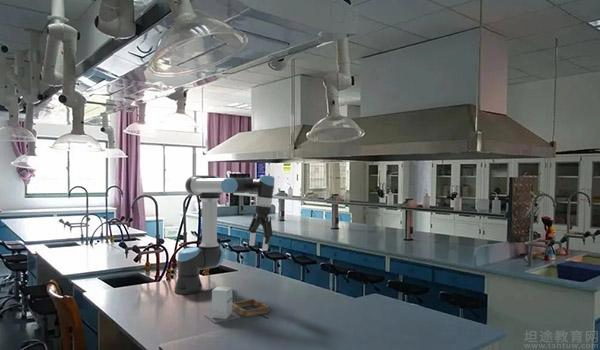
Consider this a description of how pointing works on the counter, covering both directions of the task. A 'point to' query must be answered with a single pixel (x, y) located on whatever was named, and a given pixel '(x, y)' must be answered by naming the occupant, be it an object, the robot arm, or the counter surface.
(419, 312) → the counter surface
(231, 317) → the mat
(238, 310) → the crate
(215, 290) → the supplement box
